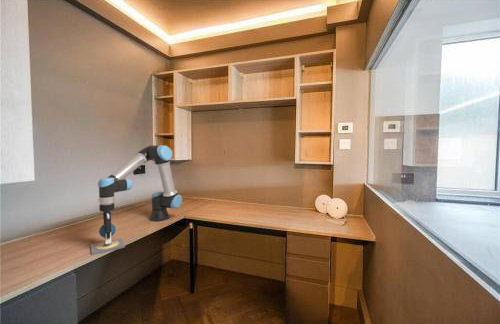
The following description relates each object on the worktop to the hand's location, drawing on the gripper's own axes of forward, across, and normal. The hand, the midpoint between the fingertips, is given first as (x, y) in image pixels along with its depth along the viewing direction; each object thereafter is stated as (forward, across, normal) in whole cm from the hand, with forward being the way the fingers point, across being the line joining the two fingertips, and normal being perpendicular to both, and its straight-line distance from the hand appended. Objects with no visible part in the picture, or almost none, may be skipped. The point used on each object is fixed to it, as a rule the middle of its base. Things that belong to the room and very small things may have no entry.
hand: (107, 240), depth 129 cm
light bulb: (+2, 0, 0) cm, 2 cm away
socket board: (+4, 0, 0) cm, 4 cm away
